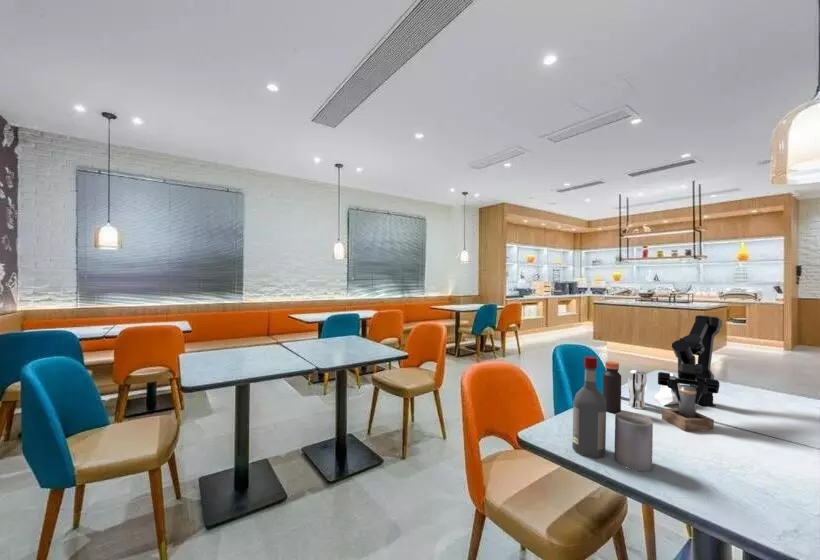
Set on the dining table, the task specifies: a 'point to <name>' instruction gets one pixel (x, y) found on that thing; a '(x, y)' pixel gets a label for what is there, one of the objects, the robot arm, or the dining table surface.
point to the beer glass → (637, 388)
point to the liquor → (589, 415)
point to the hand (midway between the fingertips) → (687, 401)
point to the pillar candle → (633, 441)
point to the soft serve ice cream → (666, 395)
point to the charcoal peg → (687, 401)
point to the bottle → (612, 387)
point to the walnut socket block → (687, 421)
